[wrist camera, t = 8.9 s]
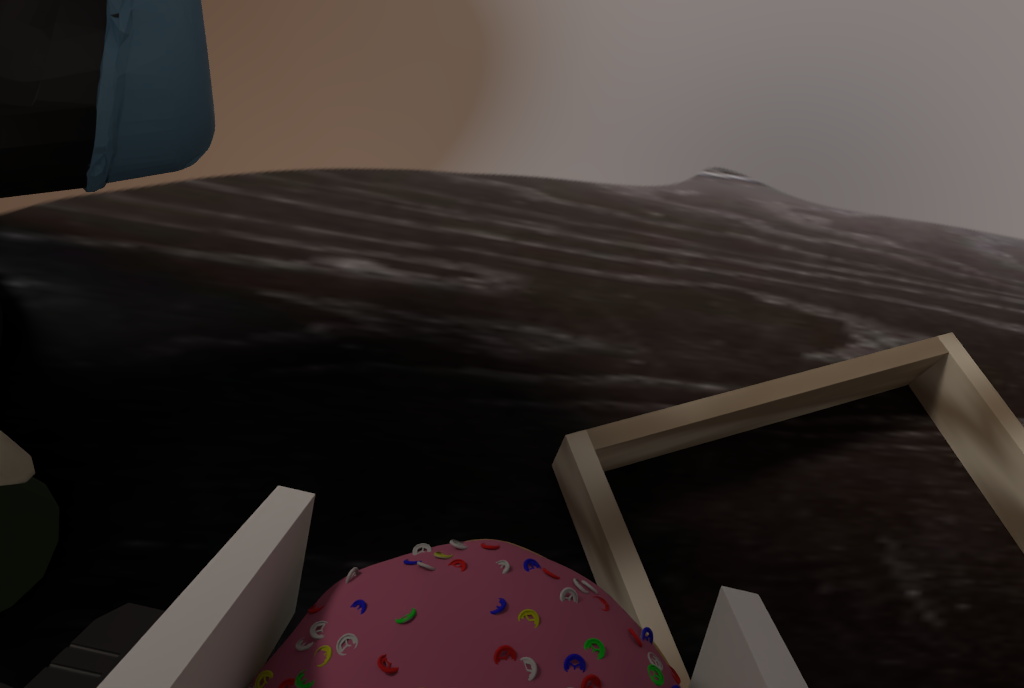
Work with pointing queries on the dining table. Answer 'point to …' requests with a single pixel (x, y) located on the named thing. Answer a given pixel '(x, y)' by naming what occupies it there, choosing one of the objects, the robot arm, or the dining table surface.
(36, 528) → the character mug
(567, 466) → the birch box
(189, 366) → the dining table surface
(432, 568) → the cupcake
